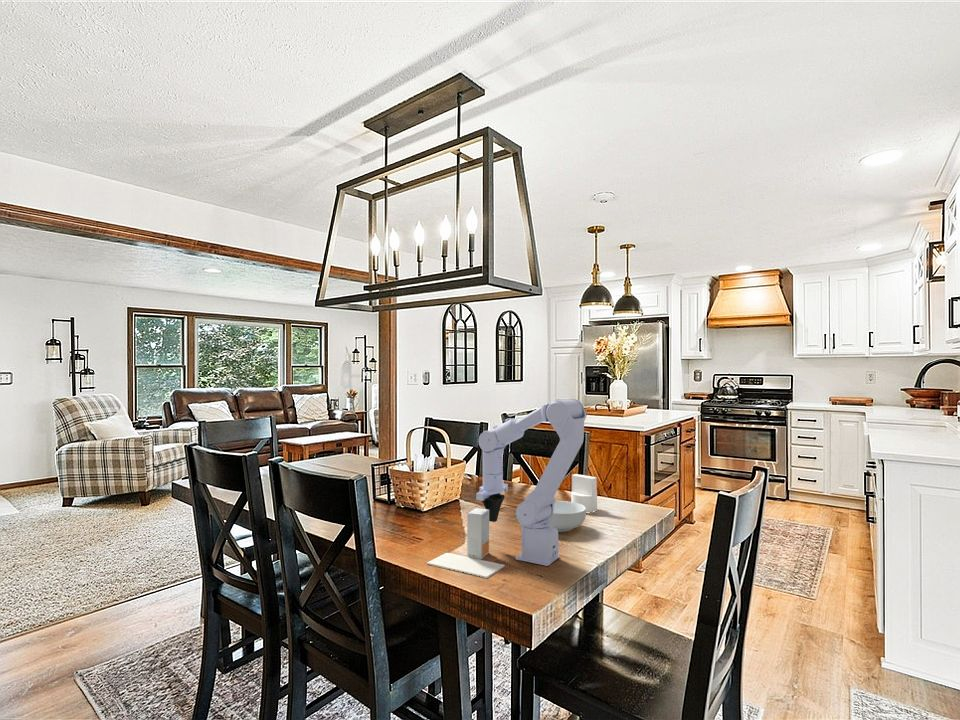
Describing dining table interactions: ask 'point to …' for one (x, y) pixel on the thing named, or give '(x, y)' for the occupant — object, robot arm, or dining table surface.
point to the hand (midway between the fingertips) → (492, 521)
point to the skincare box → (478, 533)
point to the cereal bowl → (567, 515)
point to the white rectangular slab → (466, 565)
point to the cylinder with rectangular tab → (584, 491)
